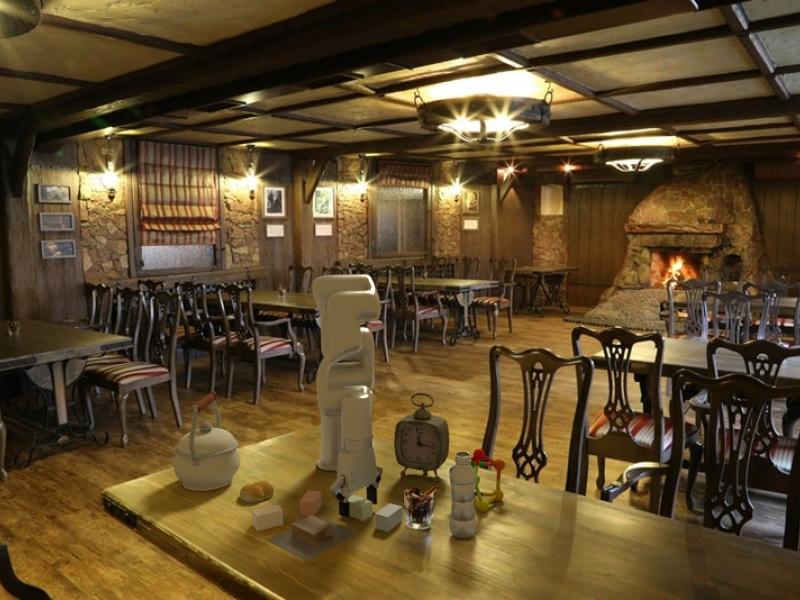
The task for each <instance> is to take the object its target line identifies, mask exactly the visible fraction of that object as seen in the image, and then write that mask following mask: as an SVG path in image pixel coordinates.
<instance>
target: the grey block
mask: <svg viewBox="0 0 800 600" xmlns="http://www.w3.org/2000/svg"><path fill="white" fill-rule="evenodd" d="M374 516H375V517H374V518H375V519H374V523H375V525H374V527H375V529H376V530H379V531H384V532H386V533H388V532H390V531H391V530H393V529H394V528H396V527H397V526H398V525H399V524H400V523H402V522H403V506H401V505H397V504H394V503H390V502H389V503H388V504H387V505H385V506H384V507H383V508H380V510H378V511H377V512H375V513H374Z"/></svg>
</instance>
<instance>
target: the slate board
mask: <svg viewBox="0 0 800 600" xmlns="http://www.w3.org/2000/svg"><path fill="white" fill-rule="evenodd" d="M316 517H317V518H319V519H321V520H323V521H326V522H328V523H330V524H332V525H334V538H332V539H330V540H328V541H326V542H324V543H322V544H320V545H318V546H316V547H313V546H311V545H309V544H307V543H305V542H303V541H301V540H299V539H297V538H295V537H292V528H290V529H288V530H285V531H283V532H281V533H279V534H277V535H275V536H272V537H270V538H268V539H266V541H267V542H269V543H271V544H273V545H275V546H277V547H279V548H280V549H283V550H284V551H287V552H288V553H290V554H292V555H294V556H296V557H297V558H300V559H301V560H304V561H305V562H306V561H309V560H311V559H312V558H315V557H317V556H319V555H320V554H322V553H324V552H326V551H328V550H330V549H332V548H334V547H336V546H337V545H339V544H341V543H344V542H345V541H347V540H349V539H351V538H353V537H354V536H356V535H358V534H359V533H358V532H356V531H353V530H352V529H349V528H347V527H345V526H343V525H340V524H338V523H335V522H333V521H331V520H328V519H327V518H324V517H321V516H319V515H317V516H316Z"/></svg>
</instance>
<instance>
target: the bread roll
mask: <svg viewBox="0 0 800 600" xmlns="http://www.w3.org/2000/svg"><path fill="white" fill-rule="evenodd" d="M274 492H275V489H274V486H273V484H271V483H270V482H268V481H266V480H260V481H256V482H253V483H249V484H246V485H243V486H242V487H241V489H240V491H239V498H240V499H241V500H242V501H244V502H245V503H250V504H251V503H259V502H262V501H264V500H268V499H271V498H272V497H273V496H274Z"/></svg>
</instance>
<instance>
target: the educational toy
mask: <svg viewBox="0 0 800 600" xmlns="http://www.w3.org/2000/svg"><path fill="white" fill-rule="evenodd" d="M483 460H485V461H486V462H485V461H483ZM470 465H471V466H472V467H473V469H474V471H475V473H476V485H475V493H474V503H475V504H476V505H475V506H476V508H477V510H478V511H479V512H487V511H488V509H489V504H490V503H492V502H493V501H496V502H500V501H502V500H503V499H504V495H505V494H504V491H502V490H501V477H502V471H503V470H504V469H505V467H506V463H505V461H504V460H503V459H502V458H496V459H493V458H491V457H489V456H487V455H486V452H485V451H484V449H481V448H476V449H475V450H474V451H473V453H472V456H471V463H470ZM454 466H455V465H453V466H451V467H450V468H449V471H448V472H449V475H450V472H451V470H452V468H453V467H454ZM480 466H481V467H493V468H494V470H496V483H495V485H496V487H495V489H494V490H493V491H492V492H486V491H485V492H483V491H482V492H481V490H480V487H479V484H480V482H481V478H480V476H479V474H478V472H479V467H480ZM483 497H489V498H487V499H484V498H483Z"/></svg>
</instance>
